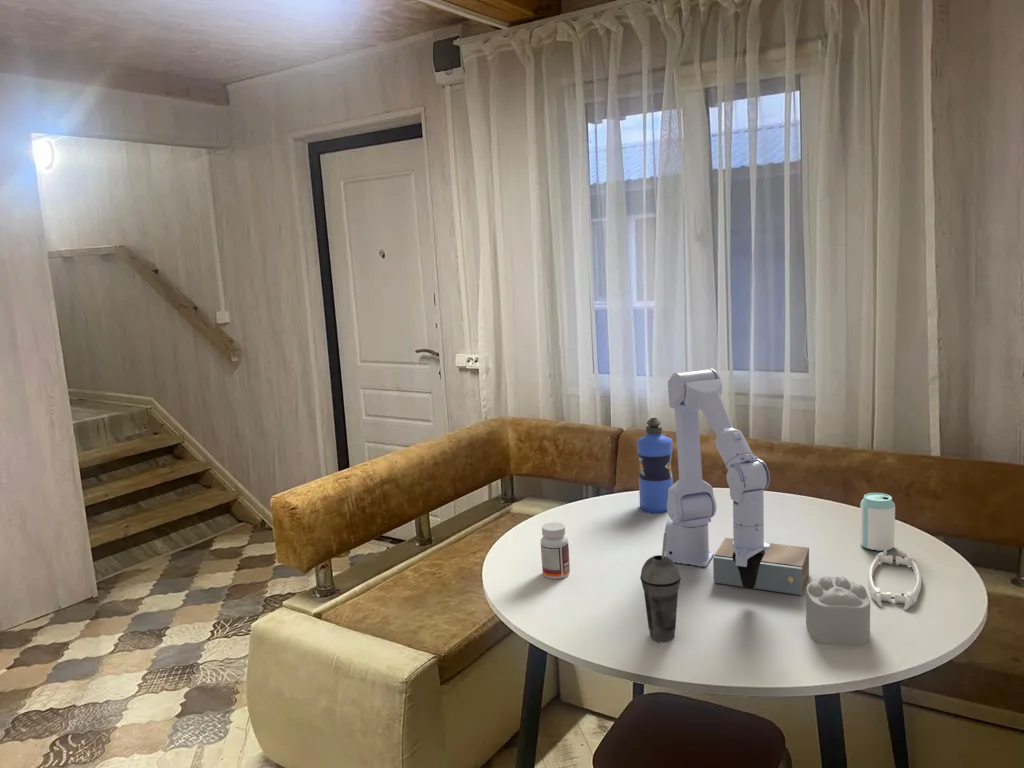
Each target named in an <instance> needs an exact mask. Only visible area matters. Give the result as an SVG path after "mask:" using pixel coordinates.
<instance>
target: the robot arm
mask: <svg viewBox="0 0 1024 768" xmlns="http://www.w3.org/2000/svg"><path fill="white" fill-rule="evenodd" d="M667 392H668V402H669V404H668V405H669V407H670V408H671V409H674V421H675V435H676V452H677V463H678V464H677V465H678V466H677V467H678V479H677V481H675V482H673V485H672V486H671V487H670V488H669V489H668V500H667V514H668V517H669V519H668V520H667V521H666V524H665V528H664V533H667V535H666V546H665V556H666V557H668V558H670V559H671V560H672V561H673V562H677V563H676V564H680V563H683V564H682V565H687V564H691V565H690V566H695V565H697V566H696V567H702V566H703V568H705V566H706V567H707V566H708V564H709V563H710V561H711V559H713V557H714V556H715V552H714V551H711V550H710V549H709V548H710V547H709V546H710V545H709V544H710V543H709V524H710V523H711V522H712V519H713V518H714V517H715V515H716V512H717V502H716V499H715V496H714V489H713V488H714V487H712V485H710V483H708V482H706V481H705V480H704V479H703V471H702V469H703V468H702V467H703V466H702V454H701V438H700V424H699V423H700V422H699V411H701V412H702V414H703V415H704V417H705V418H706V420H707V422H708V423H709V426H711V428H712V430H713V432H714V433H715V434H716V438H715V441H714V444H715V447H716V449H717V451H718V453H719V455H720V457H721V459H722V461H723V463H724V465H725V467H726V469H727V473H726V476H725V477H726V482H727V485H728V488H729V497H730V499H731V500H732V521H733V523H732V525H733V527H732V528H733V531H732V532H733V533H732V534H733V538H732V539H734V540H733V548H734V552H733V554H732V558H733V560H734V562H735V563H736V566H737V567H738V570H739V573H740V577H741V581H742V585H743V587H742V588H748V589H755V588H754V586H755V584H756V580H757V575H758V570H759V566H760V563H761V560H762V558H763V556H764V554H765V550H769V549H770V544H769V543H770V542H765V539H764V538H765V535H764V534H765V531H764V529H765V528H764V527H765V526H764V525H765V522H764V521H765V517H764V516H765V515H764V512H765V511H764V507H765V506H764V505H765V504H764V503H765V502H764V496H765V495H764V494H765V493H764V490H766V489H768V487H769V486H770V482H771V475H770V471H769V470H770V469H769V468H768V466H767V463H765V461H764V460H762V459H760V457H759V456H758V455H754V453H753V451H752V450H751V447H750V446H749V443H748V442H747V440H746V438H745V436H744V435H743V432H742V430H739V429H736V428H734V427H733V424H732V422H731V419H730V417H729V414H728V412H727V409H726V407H725V404H724V402H723V400H722V397H721V396H722V393H723V383H722V381H721V376H720V373H718V372H717V371H716V370H715V368H708V369H703V370H695V371H686V372H674V373H672V374H671V376H670V378H669V379H668V381H667Z"/></svg>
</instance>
